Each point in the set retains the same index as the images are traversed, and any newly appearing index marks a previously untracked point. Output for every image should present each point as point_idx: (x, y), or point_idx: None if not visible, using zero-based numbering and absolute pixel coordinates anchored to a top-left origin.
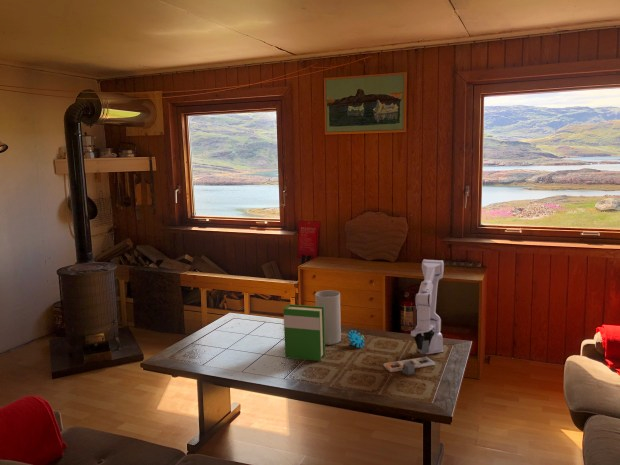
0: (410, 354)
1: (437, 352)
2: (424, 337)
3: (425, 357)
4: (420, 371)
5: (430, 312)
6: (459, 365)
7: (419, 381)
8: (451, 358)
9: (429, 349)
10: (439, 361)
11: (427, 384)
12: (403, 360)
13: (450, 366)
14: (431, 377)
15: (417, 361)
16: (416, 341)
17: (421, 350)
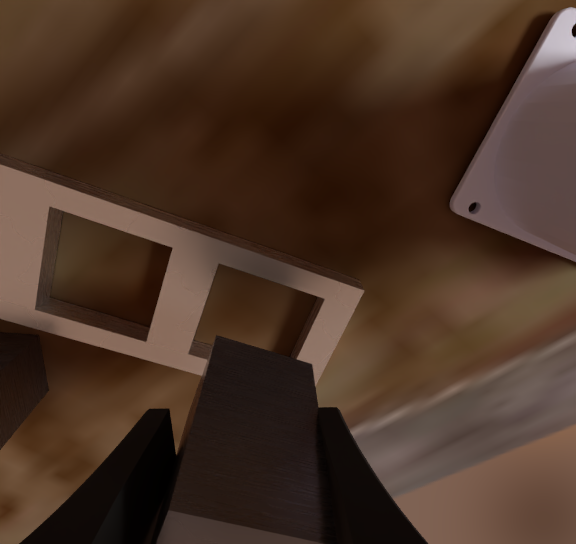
0: (336, 71)
1: (557, 253)
2: (345, 527)
3: (333, 293)
4: (117, 393)
5: None
6: (422, 480)
7: (3, 477)
8: (507, 389)
9: (523, 217)
10: (389, 369)
11: (26, 520)
12: (85, 197)
13: None
14: None
15: (196, 305)
16: (73, 522)
17: (182, 437)
